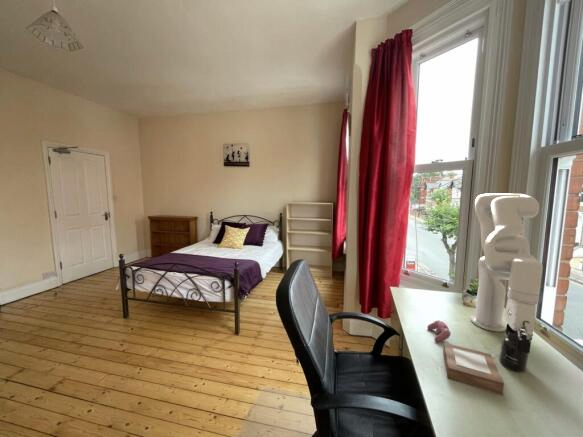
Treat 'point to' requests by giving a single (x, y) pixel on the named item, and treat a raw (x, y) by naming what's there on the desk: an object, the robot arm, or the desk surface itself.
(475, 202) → the robot arm
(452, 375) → the brown picture frame
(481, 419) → the desk surface
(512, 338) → the supplement bottle
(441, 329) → the video game controller
